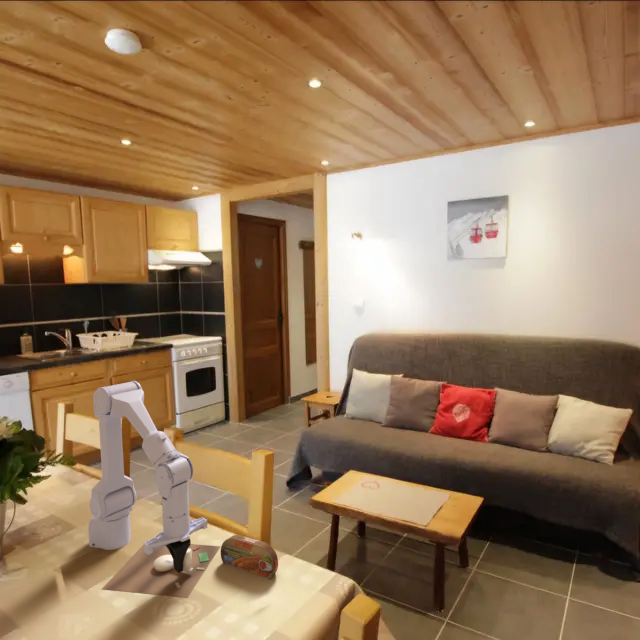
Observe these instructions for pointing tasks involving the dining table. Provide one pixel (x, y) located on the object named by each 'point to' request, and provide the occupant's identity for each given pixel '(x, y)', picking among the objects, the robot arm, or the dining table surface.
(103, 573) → the dining table surface
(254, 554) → the tin
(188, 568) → the peg
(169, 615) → the dining table surface
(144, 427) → the robot arm
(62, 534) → the dining table surface
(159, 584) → the board
